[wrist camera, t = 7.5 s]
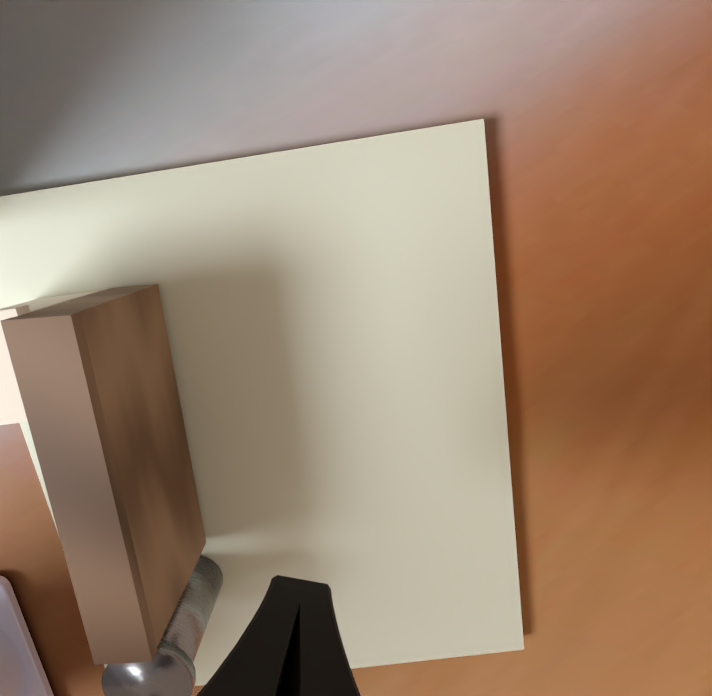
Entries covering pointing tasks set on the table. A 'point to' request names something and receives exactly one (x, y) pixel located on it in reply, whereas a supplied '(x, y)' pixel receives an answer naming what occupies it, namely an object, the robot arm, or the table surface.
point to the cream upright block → (3, 394)
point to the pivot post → (172, 643)
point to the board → (320, 374)
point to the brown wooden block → (112, 460)
